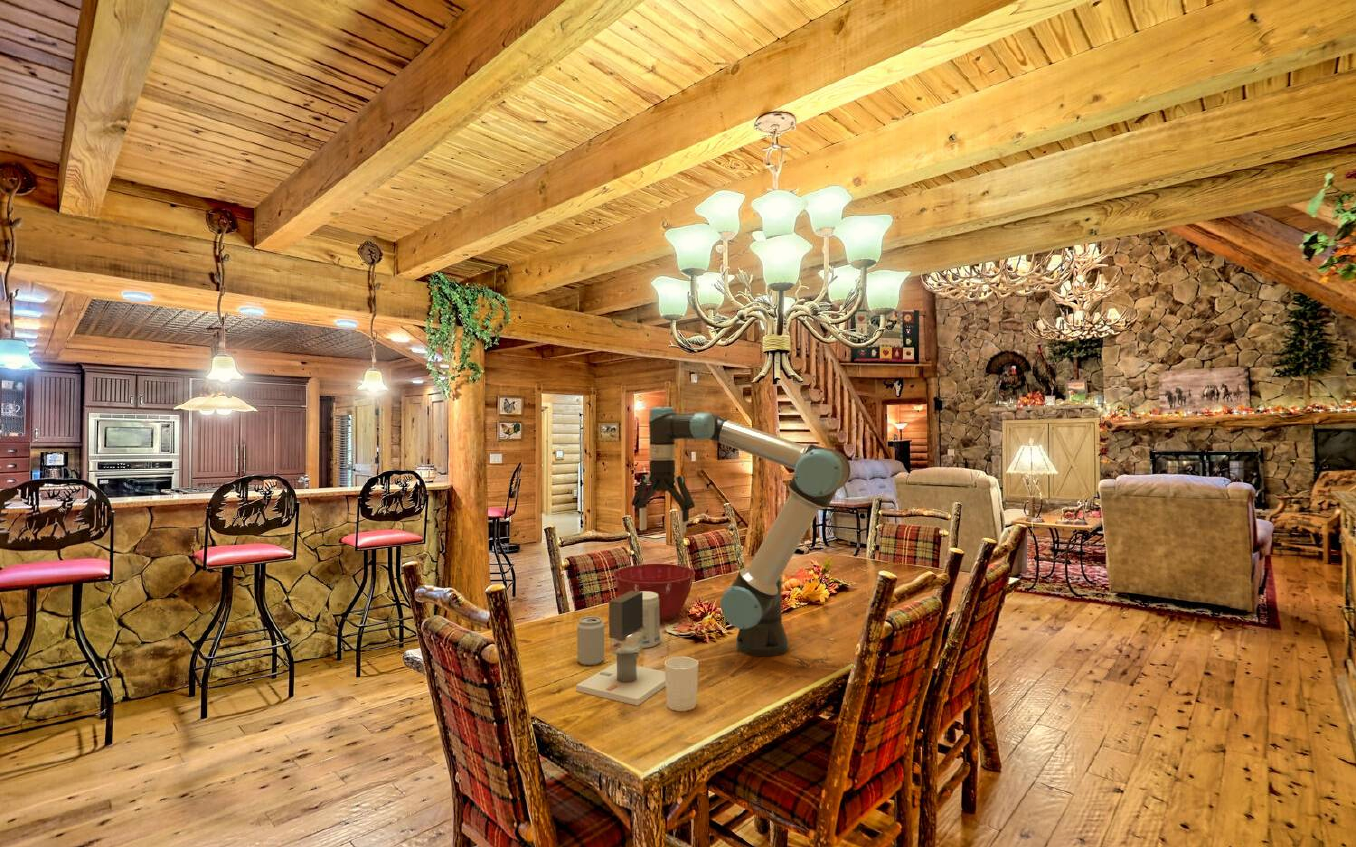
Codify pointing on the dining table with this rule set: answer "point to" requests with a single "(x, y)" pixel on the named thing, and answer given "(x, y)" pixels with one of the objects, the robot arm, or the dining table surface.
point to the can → (590, 640)
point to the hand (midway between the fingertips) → (662, 531)
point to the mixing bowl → (658, 584)
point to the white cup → (681, 683)
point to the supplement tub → (650, 620)
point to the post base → (624, 689)
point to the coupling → (626, 622)
